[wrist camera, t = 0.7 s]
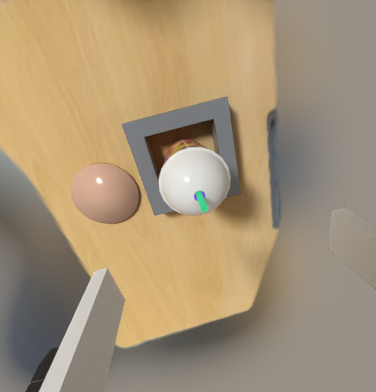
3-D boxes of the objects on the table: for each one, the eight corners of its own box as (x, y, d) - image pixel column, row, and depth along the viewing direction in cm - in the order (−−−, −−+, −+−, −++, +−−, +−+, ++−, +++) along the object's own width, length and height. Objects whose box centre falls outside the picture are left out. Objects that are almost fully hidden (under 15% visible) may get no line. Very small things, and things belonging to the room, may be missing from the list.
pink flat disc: (59, 172, 34) (57, 173, 34) (125, 155, 34) (125, 156, 33) (89, 228, 39) (88, 230, 38) (147, 213, 39) (147, 215, 38)
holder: (126, 122, 32) (121, 124, 29) (221, 97, 32) (227, 96, 28) (155, 207, 38) (154, 215, 35) (234, 186, 38) (240, 193, 35)
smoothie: (213, 170, 36) (259, 230, 18) (172, 185, 37) (176, 259, 19) (200, 126, 33) (239, 145, 15) (154, 143, 34) (138, 183, 15)
